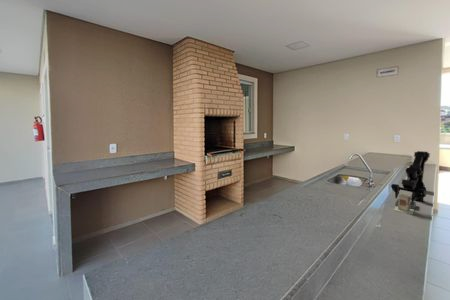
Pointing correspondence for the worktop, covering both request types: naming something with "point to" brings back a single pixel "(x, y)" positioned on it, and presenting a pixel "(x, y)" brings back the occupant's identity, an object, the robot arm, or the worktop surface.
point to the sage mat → (404, 211)
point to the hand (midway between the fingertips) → (403, 199)
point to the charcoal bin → (412, 204)
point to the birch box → (404, 202)
